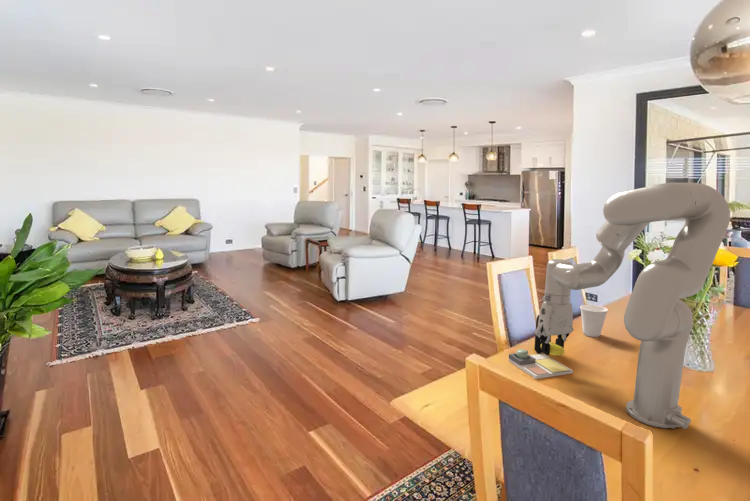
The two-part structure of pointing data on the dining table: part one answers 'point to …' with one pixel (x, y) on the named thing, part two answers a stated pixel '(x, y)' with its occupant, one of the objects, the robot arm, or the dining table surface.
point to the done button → (522, 354)
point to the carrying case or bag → (538, 340)
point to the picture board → (539, 366)
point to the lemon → (555, 349)
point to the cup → (593, 319)
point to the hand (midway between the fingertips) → (552, 352)
